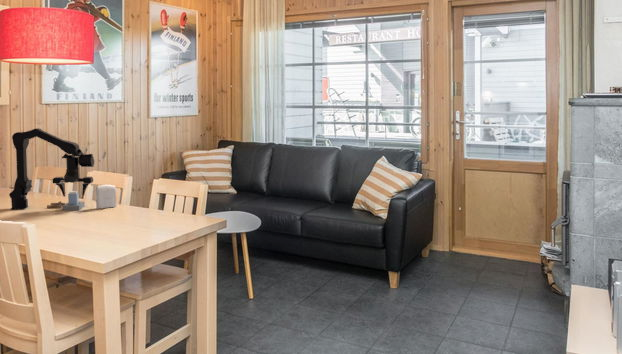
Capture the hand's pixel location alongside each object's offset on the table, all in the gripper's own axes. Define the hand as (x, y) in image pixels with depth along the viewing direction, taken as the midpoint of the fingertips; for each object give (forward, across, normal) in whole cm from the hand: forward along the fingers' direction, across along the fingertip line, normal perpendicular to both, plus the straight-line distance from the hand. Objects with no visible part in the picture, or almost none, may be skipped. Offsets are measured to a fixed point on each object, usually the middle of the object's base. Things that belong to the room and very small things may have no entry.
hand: (73, 196), depth 268 cm
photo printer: (+7, +16, +1) cm, 17 cm away
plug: (+6, 0, 0) cm, 7 cm away
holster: (+7, -9, +9) cm, 14 cm away
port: (+6, 0, 0) cm, 7 cm away
